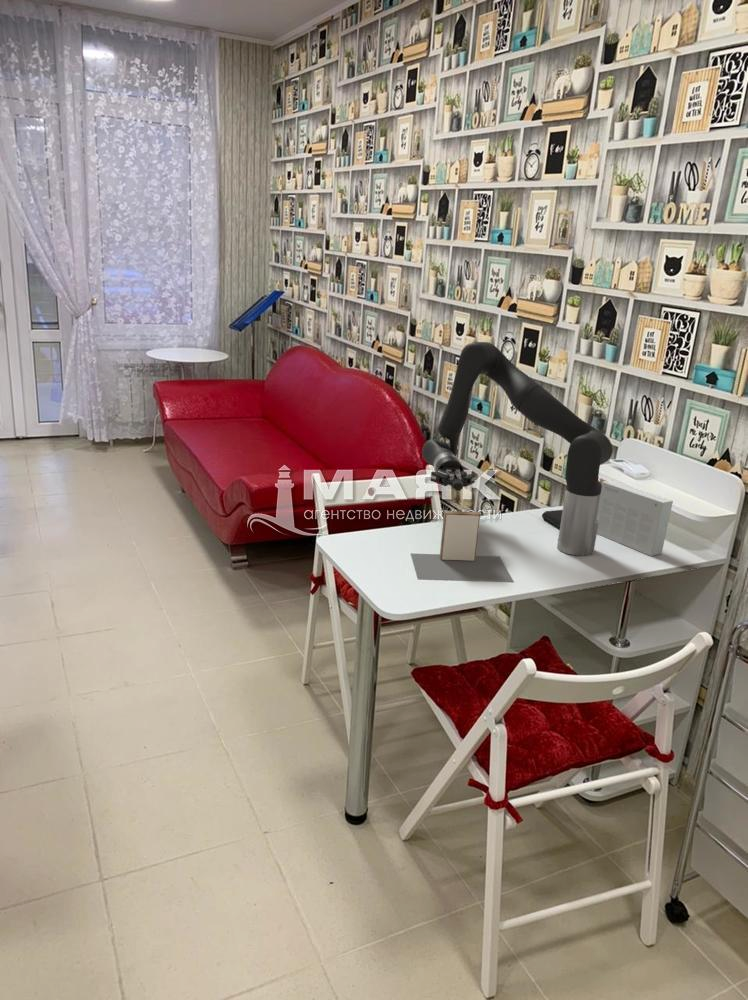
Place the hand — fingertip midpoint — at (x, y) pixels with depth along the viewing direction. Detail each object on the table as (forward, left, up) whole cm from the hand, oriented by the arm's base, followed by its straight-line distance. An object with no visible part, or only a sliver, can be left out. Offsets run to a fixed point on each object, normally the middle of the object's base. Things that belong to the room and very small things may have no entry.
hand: (458, 487), depth 199 cm
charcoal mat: (0, +13, -18) cm, 22 cm away
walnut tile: (0, +8, -17) cm, 19 cm away
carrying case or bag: (-39, -23, -18) cm, 49 cm away
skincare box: (-53, -10, -18) cm, 57 cm away
